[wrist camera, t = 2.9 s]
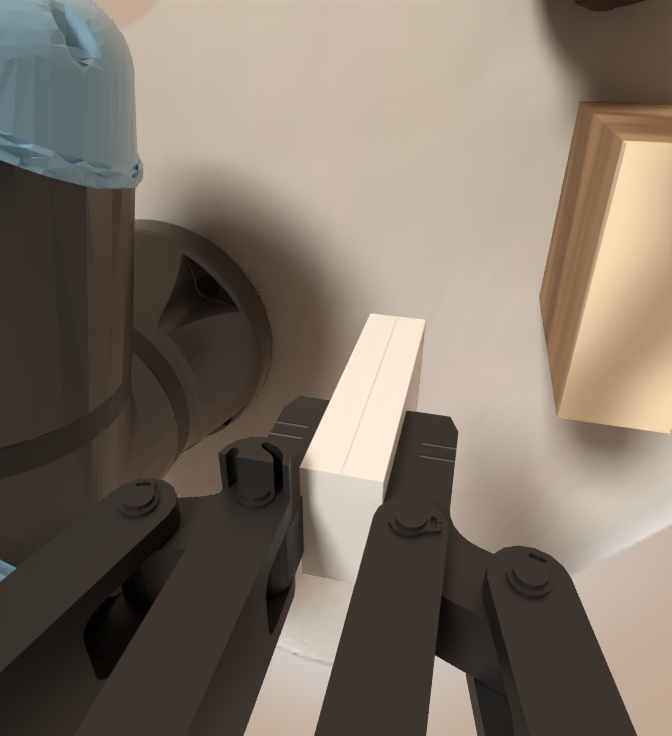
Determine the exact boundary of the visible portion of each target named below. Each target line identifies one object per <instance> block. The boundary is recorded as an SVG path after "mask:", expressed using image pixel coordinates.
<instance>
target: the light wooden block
mask: <svg viewBox="0 0 672 736" xmlns="http://www.w3.org/2000/svg"><path fill="white" fill-rule="evenodd" d="M539 298H540V304H541V311H542V318H543V325H544V332H545V338H546V345H547V352H548V359H549V365H550V372H551V379H552V386H553V393H554V399H555V406H556V413H557V418H563V419H570V420H577V421H584V422H591V423H598V424H605V425H612V426H619V427H626V428H633V429H640V430H647V431H655V432H662V433H669V434H670V431H671V429H672V105H660V104H633V103H606V102H580V103H579V108H578V113H577V118H576V123H575V128H574V132H573V137H572V142H571V147H570V152H569V157H568V161H567V166H566V171H565V176H564V181H563V186H562V190H561V195H560V200H559V205H558V210H557V215H556V219H555V224H554V229H553V234H552V239H551V243H550V248H549V253H548V258H547V263H546V268H545V272H544V277H543V282H542V287H541V292H540V297H539Z"/></svg>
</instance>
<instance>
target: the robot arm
mask: <svg viewBox="0 0 672 736" xmlns="http://www.w3.org/2000/svg"><path fill="white" fill-rule="evenodd" d="M142 178H143V163H142V162H141V160H140V158H139V155H138V153H137V139H136V110H135V80H134V67H133V61H132V57H131V53H130V50H129V47H128V45H127V42H126V40H125V38H124V37H123V35H122V33H121V32H120V30H119V29H118V27H117V26H116V24H115V23H114V21H113V20H112V19H111V18H110V17H109V16H108V15H107V14H106V13H105V12H104V10H103V9H102V8H100V7H99V6H98V5H97V4H96V3H94V2H93V1H92V0H0V736H243V735H244V733H245V730H246V727H247V724H248V722H249V719H250V716H251V713H252V711H253V708H254V705H255V702H256V700H257V697H258V694H259V691H260V689H261V686H262V683H263V680H264V678H265V675H266V672H267V669H268V666H269V664H270V661H271V658H272V656H273V653H274V650H275V647H276V645H277V642H278V639H279V636H280V634H281V631H282V628H283V625H284V623H285V620H286V617H287V614H288V611H289V609H290V606H291V603H292V600H293V598H294V592H295V573H296V570H297V568H298V565H299V563H300V560H301V557H302V573H306V574H311V575H315V576H320V577H325V578H330V579H334V580H339V581H344V582H348V583H353V584H355V586H354V589H353V593H352V597H351V601H350V604H349V608H348V612H347V615H346V619H345V623H344V627H343V630H342V634H341V638H340V642H339V645H338V649H337V653H336V656H335V660H334V664H333V668H332V671H331V676H330V679H329V683H328V687H327V690H326V694H325V697H324V701H323V705H322V709H321V712H320V716H319V720H318V724H317V727H316V731H315V735H314V736H426V731H427V721H428V713H429V704H430V694H431V685H432V676H433V667H434V658H435V655H436V656H437V657H439V658H441V659H443V660H444V661H446V662H448V663H450V664H451V665H453V666H455V667H457V668H458V669H460V670H462V671H463V672H465V673H466V678H467V684H468V688H469V694H470V699H471V704H472V709H473V714H474V720H475V725H476V730H477V735H478V736H637V734H636V732H635V729H634V727H633V724H632V722H631V720H630V718H629V715H628V713H627V710H626V708H625V706H624V703H623V701H622V698H621V696H620V693H619V691H618V689H617V686H616V684H615V682H614V679H613V677H612V674H611V672H610V670H609V667H608V665H607V663H606V660H605V658H604V655H603V653H602V651H601V648H600V646H599V643H598V641H597V639H596V636H595V634H594V631H593V629H592V627H591V624H590V622H589V620H588V617H587V615H586V612H585V610H584V608H583V605H582V603H581V600H580V598H579V596H578V593H577V591H576V589H575V586H574V584H573V581H572V579H571V577H570V576H569V574H568V573H567V571H566V570H565V568H564V567H563V566H562V565H561V564H560V563H559V562H558V561H556V560H555V559H554V558H553V557H551V556H550V555H548V554H546V553H544V552H541V551H539V550H537V549H535V548H529V547H523V546H513V547H506V548H503V549H501V550H499V551H498V552H496V553H495V554H492V553H490V552H488V551H486V550H484V549H481V548H479V547H478V546H476V545H474V544H472V543H471V542H469V541H468V540H466V539H465V538H464V537H463V536H462V535H461V534H460V533H459V532H458V531H457V529H456V528H455V527H454V525H453V523H452V520H451V518H450V503H451V494H452V485H453V476H454V466H455V457H456V448H457V439H458V430H457V429H456V427H455V425H454V423H453V421H452V419H451V417H448V416H441V415H434V414H428V413H421V412H416V408H417V403H418V393H419V383H420V373H421V363H422V353H423V343H424V333H425V324H426V320H423V319H415V318H406V317H397V316H388V315H380V314H370V316H369V318H368V320H367V322H366V324H365V327H364V329H363V331H362V333H361V335H360V337H359V340H358V342H357V344H356V346H355V348H354V350H353V353H352V355H351V357H350V359H349V361H348V363H347V366H346V368H345V370H344V372H343V374H342V376H341V379H340V381H339V383H338V385H337V387H336V389H335V392H334V394H333V396H332V398H331V400H323V399H316V398H309V397H303V396H300V397H298V398H297V399H295V400H294V401H293V402H291V403H290V404H288V405H287V406H285V408H284V409H283V411H282V413H281V415H280V416H279V418H278V420H277V423H275V425H274V427H273V429H272V430H271V434H269V436H268V437H267V438H263V437H250V438H246V439H241V440H237V441H235V442H233V443H231V444H229V445H227V446H226V447H225V448H224V449H223V450H222V451H221V452H220V453H219V460H220V469H221V478H222V486H223V489H222V491H221V492H220V493H218V494H215V495H209V496H201V497H186V498H177V494H176V492H175V490H174V488H173V486H171V485H170V484H168V483H167V482H165V481H162V478H163V477H164V476H165V474H166V473H167V472H168V470H169V469H170V468H171V466H172V465H173V464H174V462H175V461H176V460H177V458H178V457H179V456H180V454H181V453H183V452H184V451H186V450H188V449H190V448H191V447H193V446H194V445H196V444H197V443H199V442H200V441H202V440H203V439H204V438H205V437H206V436H209V435H212V434H214V433H216V432H218V431H220V430H222V429H224V428H226V427H227V426H229V425H230V424H232V423H233V422H234V421H236V420H237V419H238V418H239V417H240V416H241V415H242V414H243V413H244V412H245V411H246V410H247V409H248V407H249V406H250V404H251V403H252V401H253V400H254V398H255V397H256V395H257V394H258V392H259V391H260V389H261V388H262V386H263V384H264V382H265V380H266V378H267V375H268V372H269V368H270V364H271V358H272V338H271V331H270V326H269V322H268V318H267V315H266V312H265V310H264V307H263V305H262V302H261V300H260V298H259V296H258V294H257V293H256V291H255V289H254V287H253V286H252V284H251V283H250V281H249V280H248V279H247V277H246V276H245V275H244V273H243V272H242V271H241V270H240V268H239V267H238V266H237V265H236V264H235V263H234V262H233V261H232V260H231V259H230V258H229V257H228V256H227V255H226V254H225V253H223V252H222V251H221V250H220V249H218V248H217V247H216V246H215V245H213V244H212V243H210V242H209V241H207V240H206V239H204V238H202V237H201V236H199V235H197V234H195V233H193V232H191V231H189V230H187V229H184V228H182V227H179V226H176V225H173V224H169V223H166V222H161V221H154V220H135V187H137V186H138V184H139V183H140V182H141V181H142Z"/></svg>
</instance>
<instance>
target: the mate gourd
mask: <svg viewBox="0 0 672 736" xmlns="http://www.w3.org/2000/svg"><path fill="white" fill-rule="evenodd" d="M640 1H643V0H576V1H575V3H577V5H580V6H584V7H585V8H588V9H590V10H593V11H608V10H612V9H614V8H617V7H622V6H627V5H631V4H635V3H638V2H640Z"/></svg>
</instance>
